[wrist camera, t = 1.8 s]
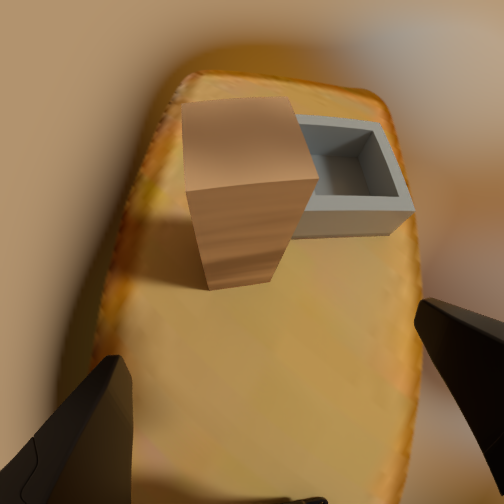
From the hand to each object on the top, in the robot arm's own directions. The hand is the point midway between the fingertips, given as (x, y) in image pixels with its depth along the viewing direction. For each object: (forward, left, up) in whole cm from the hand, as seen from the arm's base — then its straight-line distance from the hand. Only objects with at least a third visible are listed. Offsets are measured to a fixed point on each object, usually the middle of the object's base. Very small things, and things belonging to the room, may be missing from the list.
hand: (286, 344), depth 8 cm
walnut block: (+7, +1, -13) cm, 15 cm away
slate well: (+13, -8, -13) cm, 20 cm away
